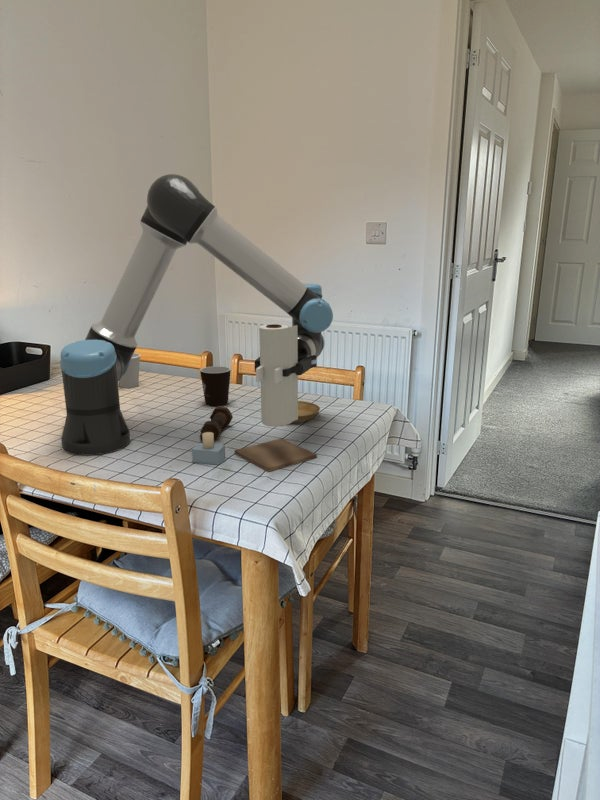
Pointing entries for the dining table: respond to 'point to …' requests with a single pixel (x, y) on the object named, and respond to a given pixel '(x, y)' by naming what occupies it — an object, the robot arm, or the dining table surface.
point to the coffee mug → (215, 385)
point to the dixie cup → (131, 373)
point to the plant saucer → (306, 411)
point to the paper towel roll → (283, 396)
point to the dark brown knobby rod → (217, 422)
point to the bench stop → (208, 451)
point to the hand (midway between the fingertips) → (266, 376)
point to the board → (275, 454)
